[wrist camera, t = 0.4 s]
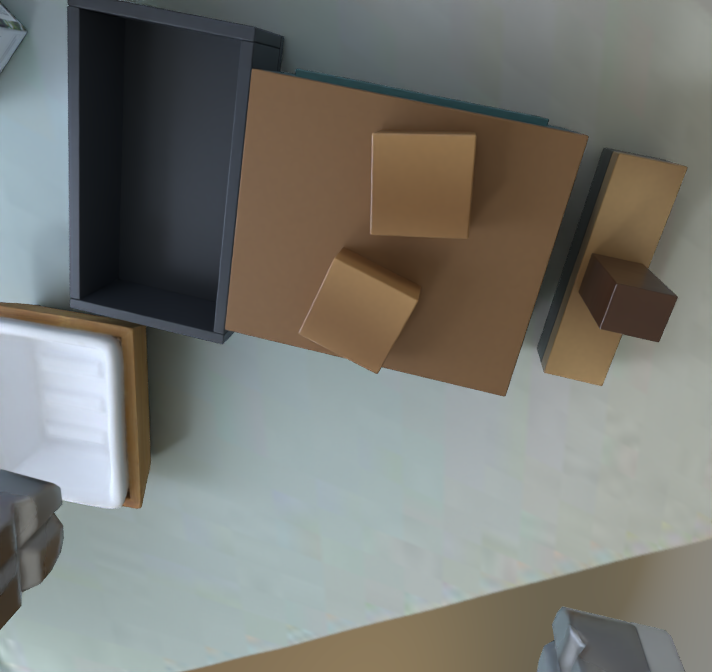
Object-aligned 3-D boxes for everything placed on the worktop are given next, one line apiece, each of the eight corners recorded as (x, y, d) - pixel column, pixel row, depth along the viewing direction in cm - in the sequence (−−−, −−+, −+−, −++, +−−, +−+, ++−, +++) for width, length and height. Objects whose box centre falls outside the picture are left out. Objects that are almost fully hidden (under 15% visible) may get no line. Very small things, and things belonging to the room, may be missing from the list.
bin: (120, 4, 31) (66, -10, 26) (284, 36, 30) (255, 26, 26) (113, 284, 37) (69, 308, 32) (250, 316, 36) (222, 345, 32)
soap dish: (167, 475, 41) (130, 523, 37) (36, 450, 42) (-17, 494, 38) (163, 306, 37) (119, 336, 32) (15, 282, 38) (-48, 309, 33)
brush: (603, 147, 29) (651, 165, 22) (665, 159, 29) (735, 182, 22) (536, 348, 34) (557, 421, 26) (590, 361, 33) (626, 438, 26)
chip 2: (378, 129, 25) (371, 132, 23) (475, 131, 24) (476, 134, 23) (376, 225, 27) (369, 235, 25) (468, 229, 26) (468, 239, 24)
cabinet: (290, 66, 30) (252, 60, 25) (567, 121, 29) (591, 128, 24) (261, 293, 35) (224, 329, 30) (498, 348, 34) (505, 397, 29)
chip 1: (342, 246, 27) (334, 257, 25) (421, 286, 27) (418, 300, 25) (308, 319, 29) (297, 334, 27) (382, 357, 29) (377, 375, 27)
